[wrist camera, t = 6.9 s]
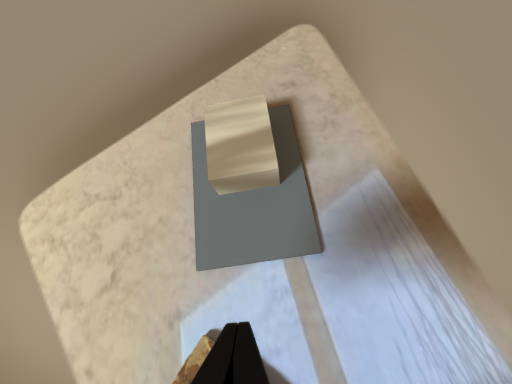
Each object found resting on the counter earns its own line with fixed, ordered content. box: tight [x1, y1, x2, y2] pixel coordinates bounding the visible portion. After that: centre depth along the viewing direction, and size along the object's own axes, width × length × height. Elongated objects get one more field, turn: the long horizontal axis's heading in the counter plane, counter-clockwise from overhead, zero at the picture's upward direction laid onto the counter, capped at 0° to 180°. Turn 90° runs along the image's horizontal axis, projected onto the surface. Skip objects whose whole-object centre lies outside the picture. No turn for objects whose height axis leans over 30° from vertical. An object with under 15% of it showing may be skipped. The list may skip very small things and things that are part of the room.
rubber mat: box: [191, 104, 322, 271], centre depth 25 cm, size 16×11×1 cm
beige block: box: [204, 94, 280, 195], centre depth 24 cm, size 4×6×8 cm
